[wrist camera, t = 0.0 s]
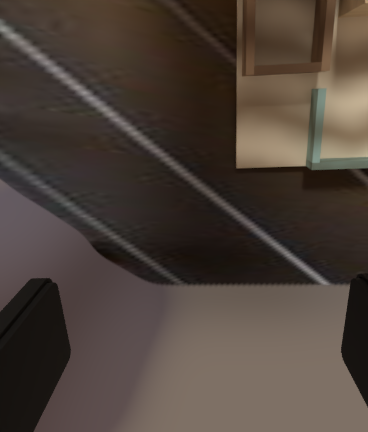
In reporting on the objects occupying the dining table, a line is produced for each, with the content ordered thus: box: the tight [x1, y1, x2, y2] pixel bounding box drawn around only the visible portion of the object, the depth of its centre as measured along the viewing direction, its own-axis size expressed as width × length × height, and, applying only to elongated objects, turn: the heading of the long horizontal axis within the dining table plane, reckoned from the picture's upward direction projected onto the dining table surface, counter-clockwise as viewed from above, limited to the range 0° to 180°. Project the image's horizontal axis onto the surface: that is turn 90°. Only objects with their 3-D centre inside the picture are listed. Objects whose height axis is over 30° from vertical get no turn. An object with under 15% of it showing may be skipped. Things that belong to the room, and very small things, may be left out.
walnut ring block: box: [242, 0, 336, 77], centre depth 33 cm, size 8×8×4 cm
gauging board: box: [236, 0, 368, 170], centre depth 34 cm, size 24×18×3 cm
